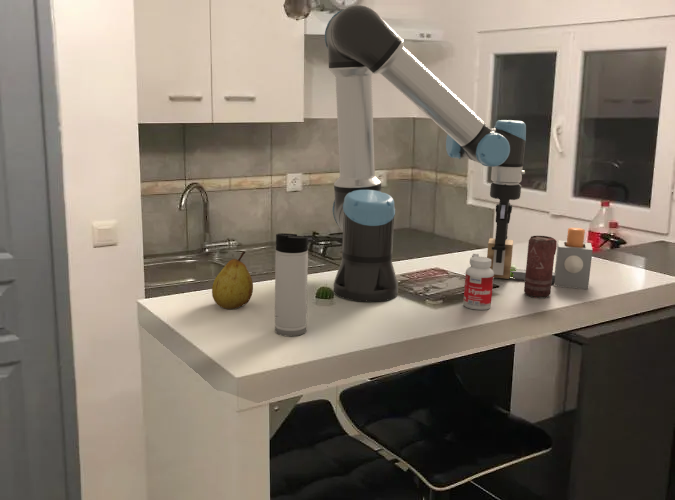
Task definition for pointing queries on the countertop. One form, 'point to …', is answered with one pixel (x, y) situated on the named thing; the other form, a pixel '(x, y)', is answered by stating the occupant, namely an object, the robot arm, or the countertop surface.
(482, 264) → the pill bottle
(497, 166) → the robot arm
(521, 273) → the rail
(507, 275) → the tan wooden block
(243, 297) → the fruit
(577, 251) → the grey box
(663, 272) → the countertop surface
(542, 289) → the can
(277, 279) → the travel mug
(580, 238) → the plunger
